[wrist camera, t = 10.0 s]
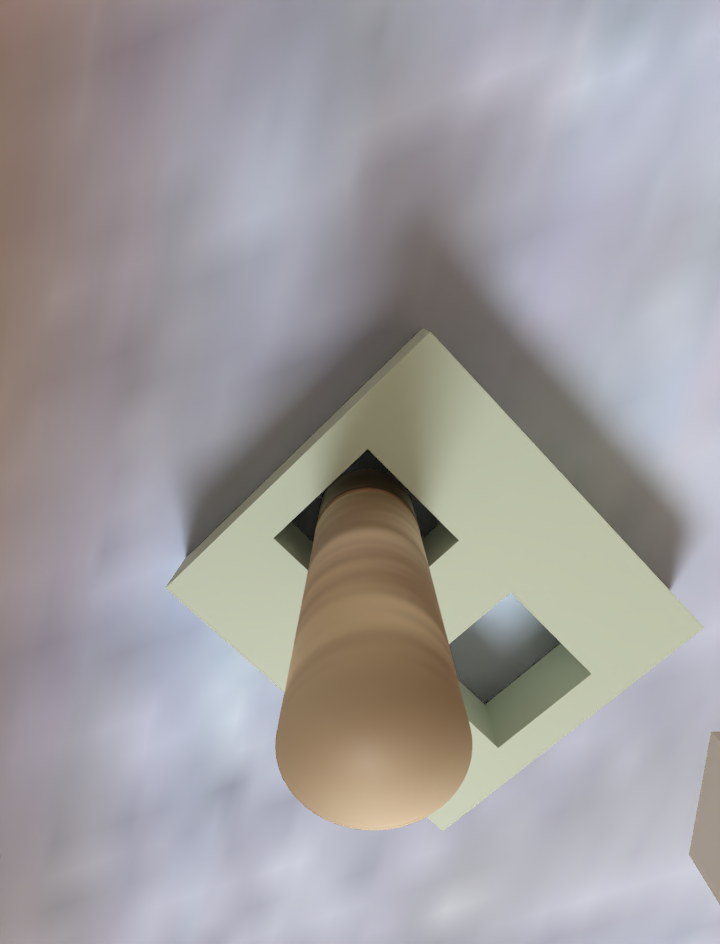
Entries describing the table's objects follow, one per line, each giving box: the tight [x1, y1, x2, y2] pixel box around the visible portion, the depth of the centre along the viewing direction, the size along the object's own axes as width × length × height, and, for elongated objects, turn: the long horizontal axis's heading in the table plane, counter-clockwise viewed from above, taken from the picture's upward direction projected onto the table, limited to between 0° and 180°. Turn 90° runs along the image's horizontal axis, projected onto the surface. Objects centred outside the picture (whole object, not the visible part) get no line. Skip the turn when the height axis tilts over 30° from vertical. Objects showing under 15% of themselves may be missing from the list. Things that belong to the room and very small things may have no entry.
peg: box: [275, 469, 472, 830], centre depth 20 cm, size 4×4×15 cm
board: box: [166, 328, 704, 831], centre depth 27 cm, size 16×14×3 cm
